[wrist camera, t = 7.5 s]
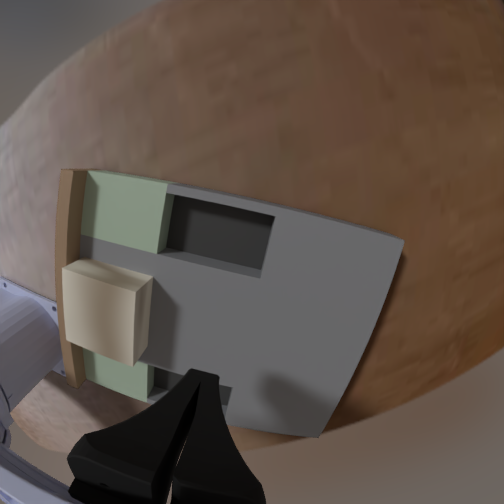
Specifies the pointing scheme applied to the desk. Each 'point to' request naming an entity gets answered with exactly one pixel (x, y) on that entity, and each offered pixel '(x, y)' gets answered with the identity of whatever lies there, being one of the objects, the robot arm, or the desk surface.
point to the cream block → (107, 309)
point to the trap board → (229, 294)
